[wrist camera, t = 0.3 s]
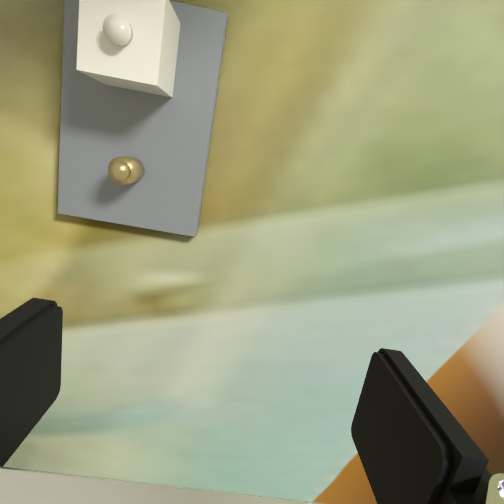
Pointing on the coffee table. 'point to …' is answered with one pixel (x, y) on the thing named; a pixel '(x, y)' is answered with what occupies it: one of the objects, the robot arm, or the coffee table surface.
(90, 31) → the white knobbed cube
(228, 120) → the coffee table surface
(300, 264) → the coffee table surface
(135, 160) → the post
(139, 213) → the board
